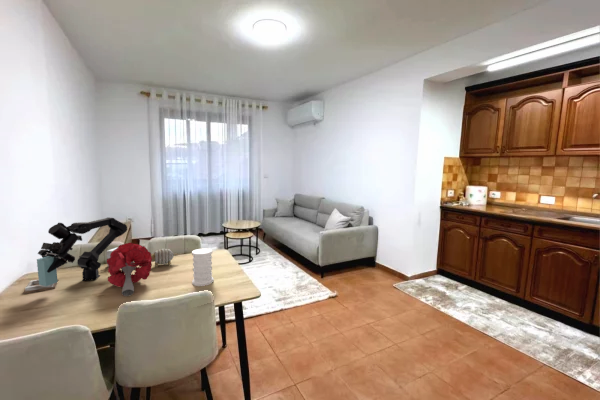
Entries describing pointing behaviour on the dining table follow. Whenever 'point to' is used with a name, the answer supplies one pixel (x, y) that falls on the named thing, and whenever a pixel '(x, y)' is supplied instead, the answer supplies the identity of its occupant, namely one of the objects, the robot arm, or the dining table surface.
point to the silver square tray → (37, 287)
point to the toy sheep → (162, 256)
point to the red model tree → (129, 266)
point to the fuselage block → (43, 267)
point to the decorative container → (202, 267)
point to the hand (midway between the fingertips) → (44, 271)
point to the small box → (110, 253)
